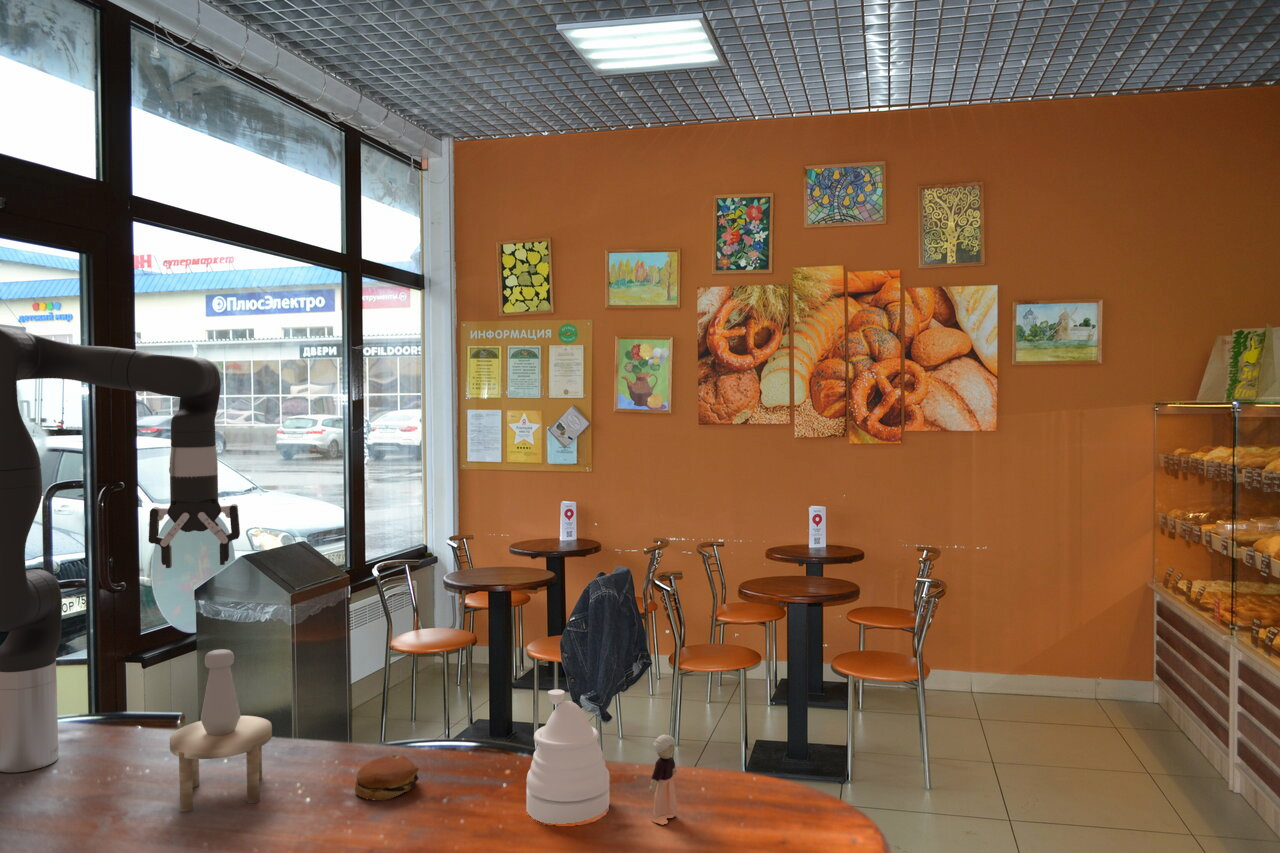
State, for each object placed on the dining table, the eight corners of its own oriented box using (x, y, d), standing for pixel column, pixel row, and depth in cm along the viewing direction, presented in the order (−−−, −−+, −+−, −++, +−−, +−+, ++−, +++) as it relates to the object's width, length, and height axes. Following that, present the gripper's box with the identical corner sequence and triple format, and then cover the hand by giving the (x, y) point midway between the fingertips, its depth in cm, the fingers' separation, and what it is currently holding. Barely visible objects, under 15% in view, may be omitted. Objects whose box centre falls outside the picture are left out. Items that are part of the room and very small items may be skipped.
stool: (164, 819, 146) (163, 754, 145) (177, 781, 160) (176, 721, 160) (271, 805, 151) (270, 742, 150) (274, 769, 165) (273, 711, 164)
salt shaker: (247, 726, 157) (246, 646, 157) (228, 738, 152) (227, 656, 151) (213, 724, 158) (212, 645, 158) (193, 737, 152) (191, 655, 152)
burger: (351, 803, 152) (351, 774, 151) (361, 780, 161) (361, 752, 161) (415, 800, 153) (415, 771, 153) (421, 777, 162) (421, 750, 162)
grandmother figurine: (670, 830, 142) (670, 745, 142) (645, 826, 143) (645, 742, 143) (683, 808, 150) (683, 727, 149) (659, 805, 151) (659, 725, 150)
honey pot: (511, 819, 146) (511, 701, 145) (548, 786, 158) (548, 677, 157) (590, 832, 142) (589, 711, 141) (622, 797, 154) (621, 685, 153)
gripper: (239, 469, 173) (241, 560, 174) (151, 472, 169) (153, 564, 169) (237, 473, 166) (238, 567, 167) (144, 475, 161) (146, 572, 162)
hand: (195, 565), depth 168 cm, fingers open, 8 cm apart
